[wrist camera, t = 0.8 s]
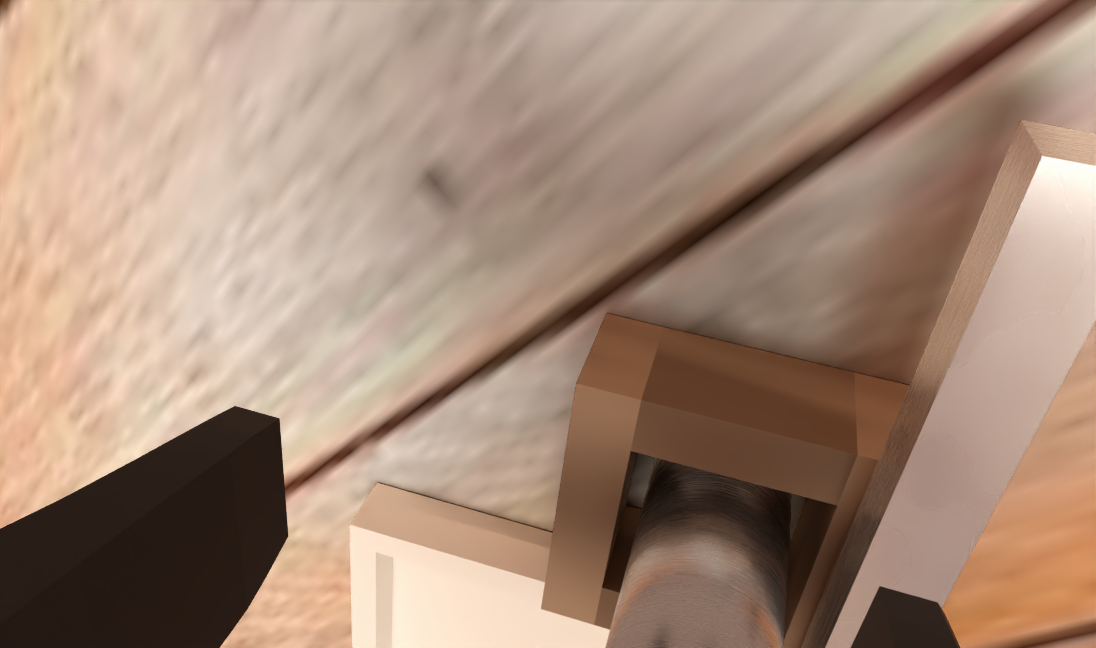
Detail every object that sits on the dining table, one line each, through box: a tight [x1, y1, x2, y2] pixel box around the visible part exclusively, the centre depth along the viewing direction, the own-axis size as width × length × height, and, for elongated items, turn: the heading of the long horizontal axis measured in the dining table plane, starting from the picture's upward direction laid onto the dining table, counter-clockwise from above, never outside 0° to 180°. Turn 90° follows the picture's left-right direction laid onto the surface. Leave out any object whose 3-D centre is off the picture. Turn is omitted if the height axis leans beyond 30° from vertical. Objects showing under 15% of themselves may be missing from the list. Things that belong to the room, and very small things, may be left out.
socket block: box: [541, 313, 910, 648], centre depth 21 cm, size 7×7×3 cm
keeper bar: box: [801, 120, 1096, 648], centre depth 17 cm, size 18×4×2 cm, turn 174°
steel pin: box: [605, 458, 792, 648], centre depth 18 cm, size 4×4×9 cm
